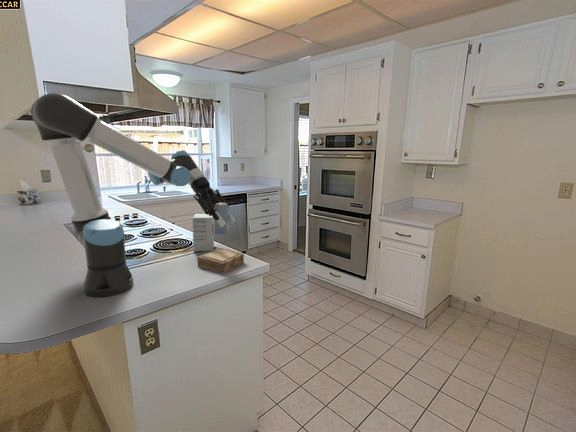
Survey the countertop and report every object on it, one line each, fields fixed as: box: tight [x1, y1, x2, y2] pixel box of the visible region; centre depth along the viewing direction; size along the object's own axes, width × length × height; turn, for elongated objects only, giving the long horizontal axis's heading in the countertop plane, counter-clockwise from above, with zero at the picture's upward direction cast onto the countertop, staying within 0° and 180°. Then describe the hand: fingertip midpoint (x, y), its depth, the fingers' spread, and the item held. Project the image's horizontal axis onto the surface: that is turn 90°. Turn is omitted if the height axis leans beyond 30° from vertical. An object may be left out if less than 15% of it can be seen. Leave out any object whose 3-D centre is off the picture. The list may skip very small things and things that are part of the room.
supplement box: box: [192, 213, 215, 252], centre depth 147 cm, size 10×9×17 cm
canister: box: [213, 202, 229, 235], centre depth 127 cm, size 6×6×13 cm
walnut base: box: [197, 247, 245, 274], centre depth 131 cm, size 14×14×4 cm
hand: (228, 223), depth 125 cm, fingers closed on canister, 6 cm apart
